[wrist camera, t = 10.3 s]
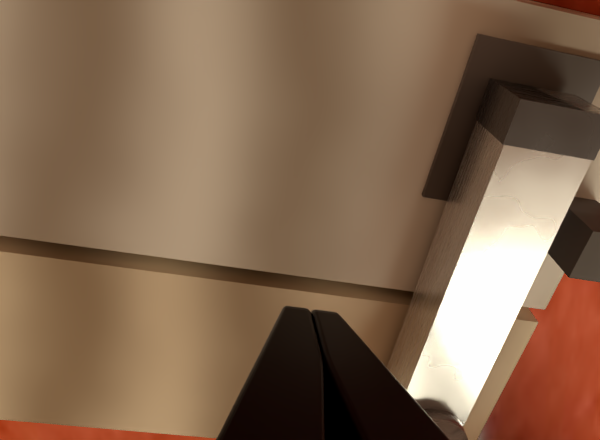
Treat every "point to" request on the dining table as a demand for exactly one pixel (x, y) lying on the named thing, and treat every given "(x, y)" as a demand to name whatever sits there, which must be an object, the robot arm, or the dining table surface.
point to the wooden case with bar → (244, 186)
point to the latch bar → (491, 243)
